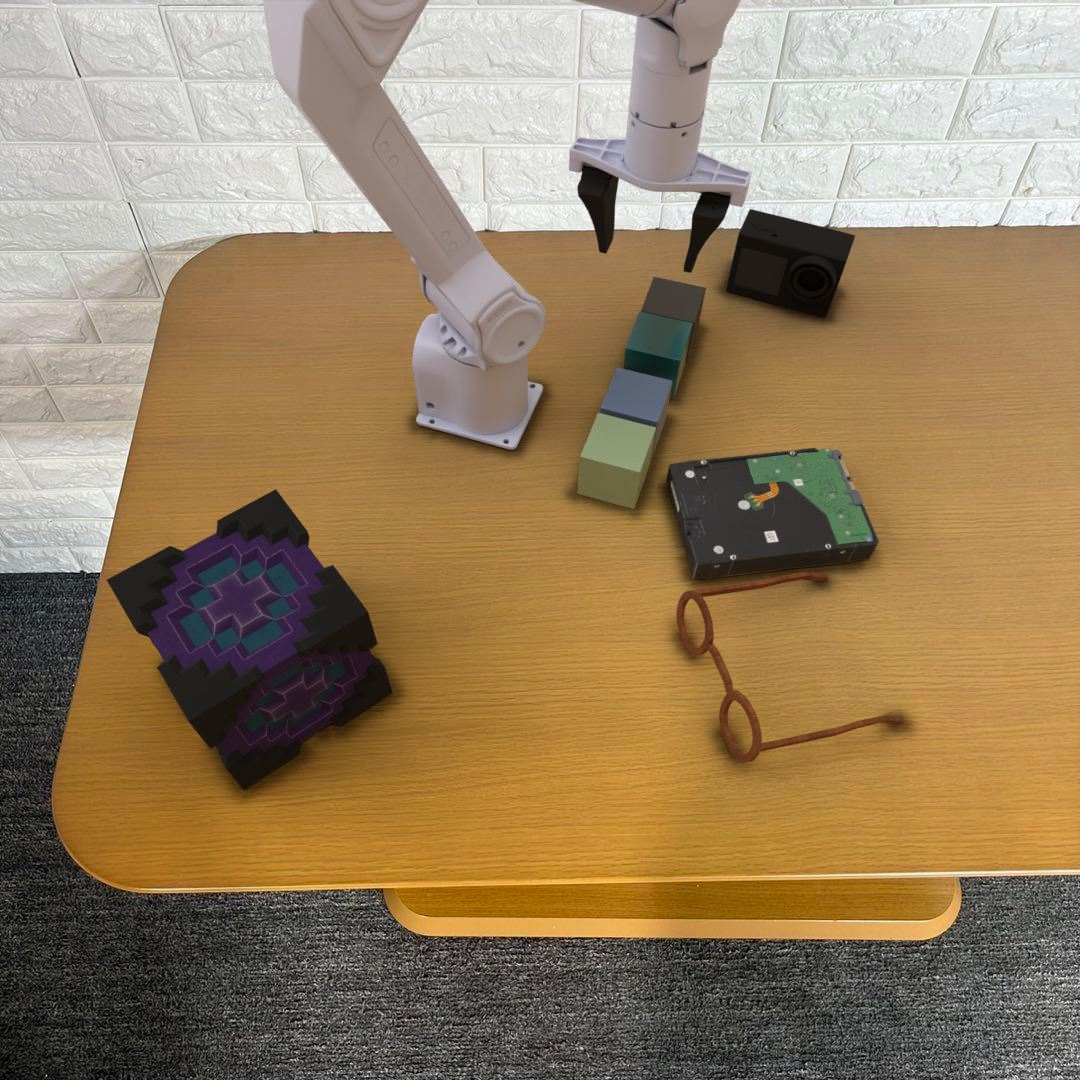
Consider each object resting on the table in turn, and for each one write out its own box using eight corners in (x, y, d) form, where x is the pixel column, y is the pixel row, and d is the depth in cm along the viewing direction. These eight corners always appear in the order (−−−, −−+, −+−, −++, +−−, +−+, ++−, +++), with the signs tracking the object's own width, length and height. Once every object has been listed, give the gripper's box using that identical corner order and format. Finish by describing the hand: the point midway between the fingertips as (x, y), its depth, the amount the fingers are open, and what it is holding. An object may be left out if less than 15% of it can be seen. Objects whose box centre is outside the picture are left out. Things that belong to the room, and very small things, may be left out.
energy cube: (169, 664, 67) (106, 579, 57) (311, 581, 71) (275, 488, 61) (243, 790, 61) (188, 721, 52) (392, 693, 66) (368, 611, 56)
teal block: (620, 387, 83) (625, 347, 79) (634, 351, 86) (639, 310, 81) (673, 400, 82) (680, 360, 78) (685, 363, 85) (693, 322, 81)
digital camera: (720, 298, 90) (733, 240, 84) (735, 265, 93) (749, 206, 87) (823, 326, 88) (844, 268, 82) (835, 292, 90) (856, 233, 85)
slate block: (596, 446, 79) (599, 407, 75) (612, 406, 82) (616, 366, 77) (651, 460, 78) (658, 422, 74) (665, 420, 81) (672, 380, 77)
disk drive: (692, 585, 71) (872, 561, 72) (697, 566, 69) (883, 541, 70) (663, 483, 77) (830, 461, 78) (666, 462, 75) (838, 440, 76)
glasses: (670, 615, 69) (679, 582, 65) (824, 576, 71) (842, 541, 67) (737, 775, 62) (751, 748, 58) (905, 726, 64) (931, 697, 60)
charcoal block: (635, 351, 86) (640, 310, 81) (648, 317, 88) (653, 276, 84) (686, 363, 85) (694, 322, 81) (698, 328, 87) (706, 287, 83)
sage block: (577, 494, 76) (579, 456, 72) (594, 451, 79) (597, 412, 74) (634, 509, 75) (640, 472, 71) (649, 465, 78) (656, 427, 74)
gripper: (771, 97, 69) (738, 245, 80) (590, 63, 71) (582, 211, 82) (753, 148, 65) (720, 296, 76) (562, 110, 68) (558, 258, 79)
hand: (647, 255), depth 79 cm, fingers open, 7 cm apart
